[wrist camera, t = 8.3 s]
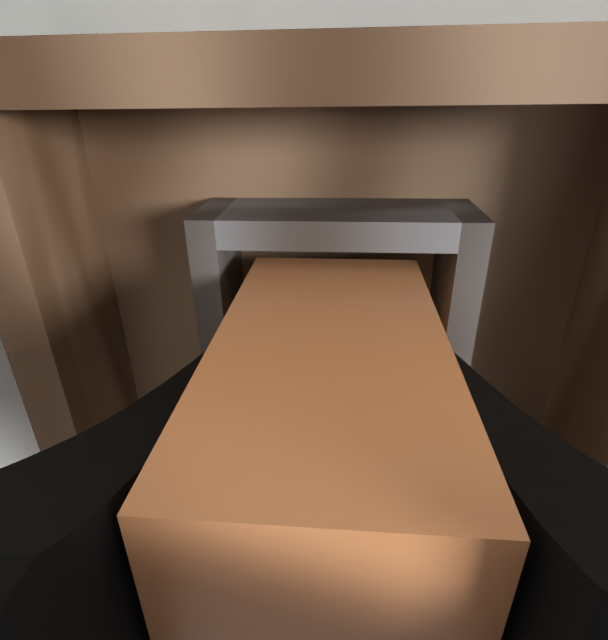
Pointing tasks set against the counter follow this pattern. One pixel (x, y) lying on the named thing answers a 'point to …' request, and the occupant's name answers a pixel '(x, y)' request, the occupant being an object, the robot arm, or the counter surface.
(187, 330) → the walled box
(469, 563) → the peach plain square-edged block
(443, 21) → the counter surface
